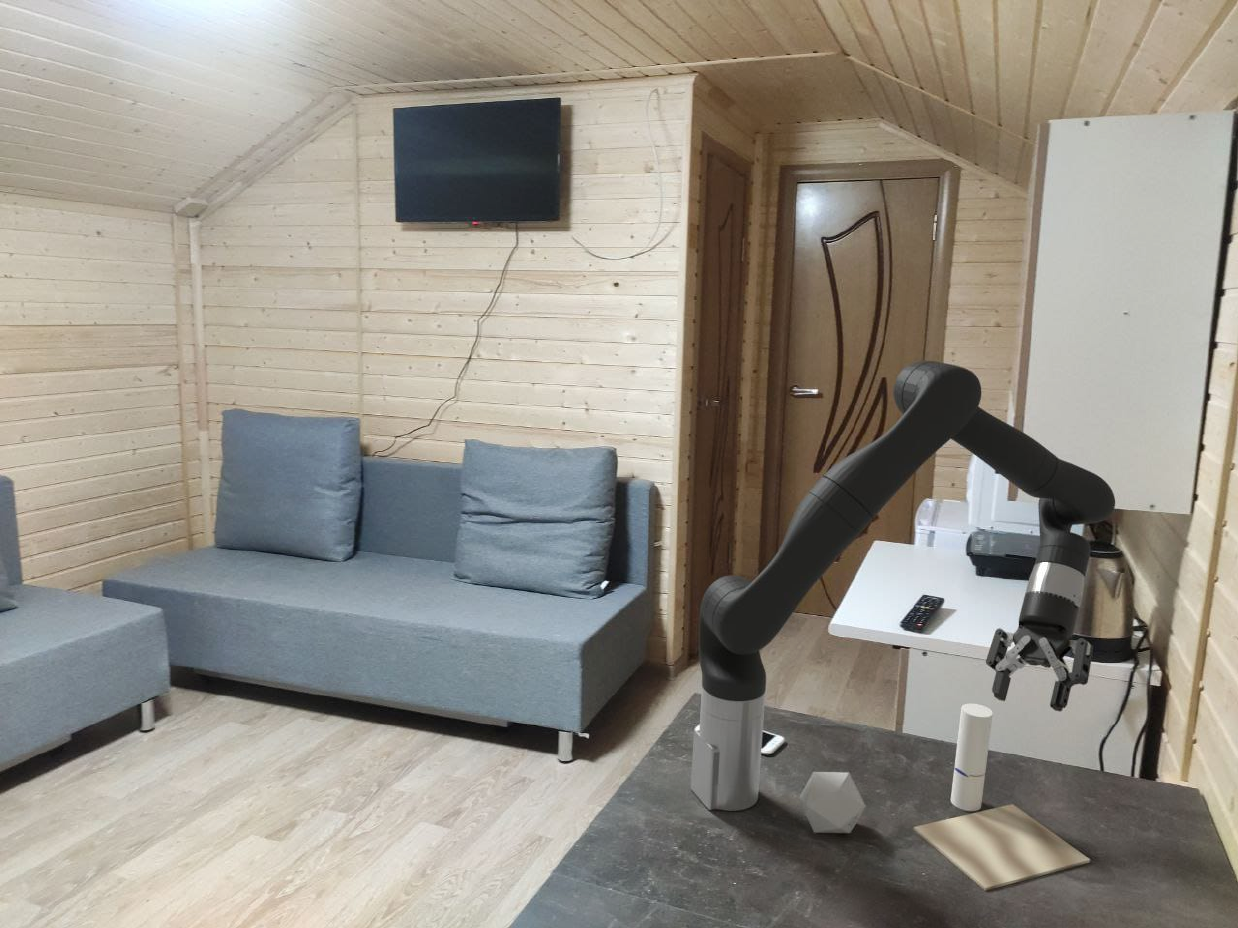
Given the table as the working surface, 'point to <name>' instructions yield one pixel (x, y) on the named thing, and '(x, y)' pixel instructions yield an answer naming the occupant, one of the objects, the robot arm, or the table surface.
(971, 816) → the birch board
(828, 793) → the die
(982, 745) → the tube
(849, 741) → the table surface
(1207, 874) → the table surface
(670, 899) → the table surface
